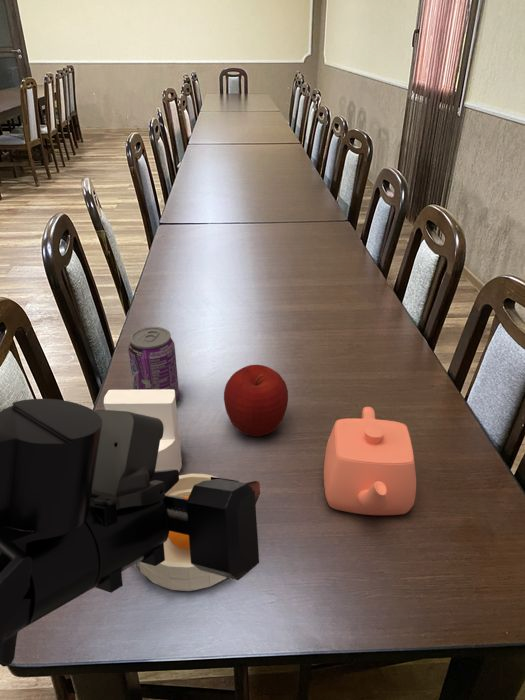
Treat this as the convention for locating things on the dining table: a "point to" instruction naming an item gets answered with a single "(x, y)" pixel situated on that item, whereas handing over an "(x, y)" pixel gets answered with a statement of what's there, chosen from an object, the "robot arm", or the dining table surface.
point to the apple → (256, 400)
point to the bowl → (180, 553)
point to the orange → (180, 538)
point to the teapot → (370, 466)
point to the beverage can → (153, 360)
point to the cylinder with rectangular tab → (158, 407)
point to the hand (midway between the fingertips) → (215, 480)
